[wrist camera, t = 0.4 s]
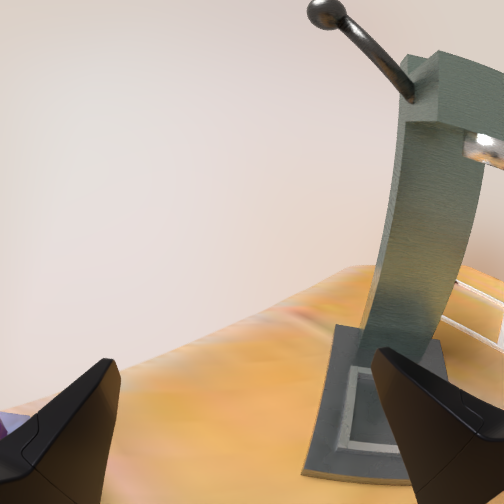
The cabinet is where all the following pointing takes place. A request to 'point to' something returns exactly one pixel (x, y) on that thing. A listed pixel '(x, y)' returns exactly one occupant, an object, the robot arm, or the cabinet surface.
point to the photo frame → (503, 339)
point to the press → (407, 245)
